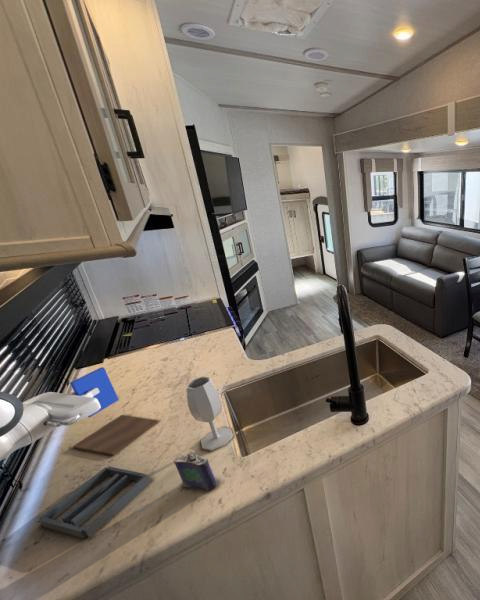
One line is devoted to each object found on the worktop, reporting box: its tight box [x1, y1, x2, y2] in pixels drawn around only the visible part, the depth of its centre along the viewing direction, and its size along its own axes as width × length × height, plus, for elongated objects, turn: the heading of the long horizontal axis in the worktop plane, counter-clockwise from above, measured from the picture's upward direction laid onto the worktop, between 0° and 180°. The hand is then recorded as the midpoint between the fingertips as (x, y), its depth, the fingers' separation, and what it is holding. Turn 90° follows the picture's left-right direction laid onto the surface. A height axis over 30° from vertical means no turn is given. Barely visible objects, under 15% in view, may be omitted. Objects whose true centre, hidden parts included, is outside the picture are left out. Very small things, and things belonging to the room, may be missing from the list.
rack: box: [39, 466, 151, 540], centre depth 76 cm, size 15×15×2 cm
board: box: [73, 414, 158, 456], centre depth 99 cm, size 16×14×1 cm
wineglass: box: [185, 376, 234, 452], centre depth 91 cm, size 9×9×21 cm
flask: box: [173, 450, 218, 492], centre depth 78 cm, size 9×3×11 cm, turn 79°
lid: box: [69, 367, 120, 418], centre depth 92 cm, size 1×8×12 cm, turn 167°
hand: (93, 389), depth 91 cm, fingers closed on lid, 1 cm apart
